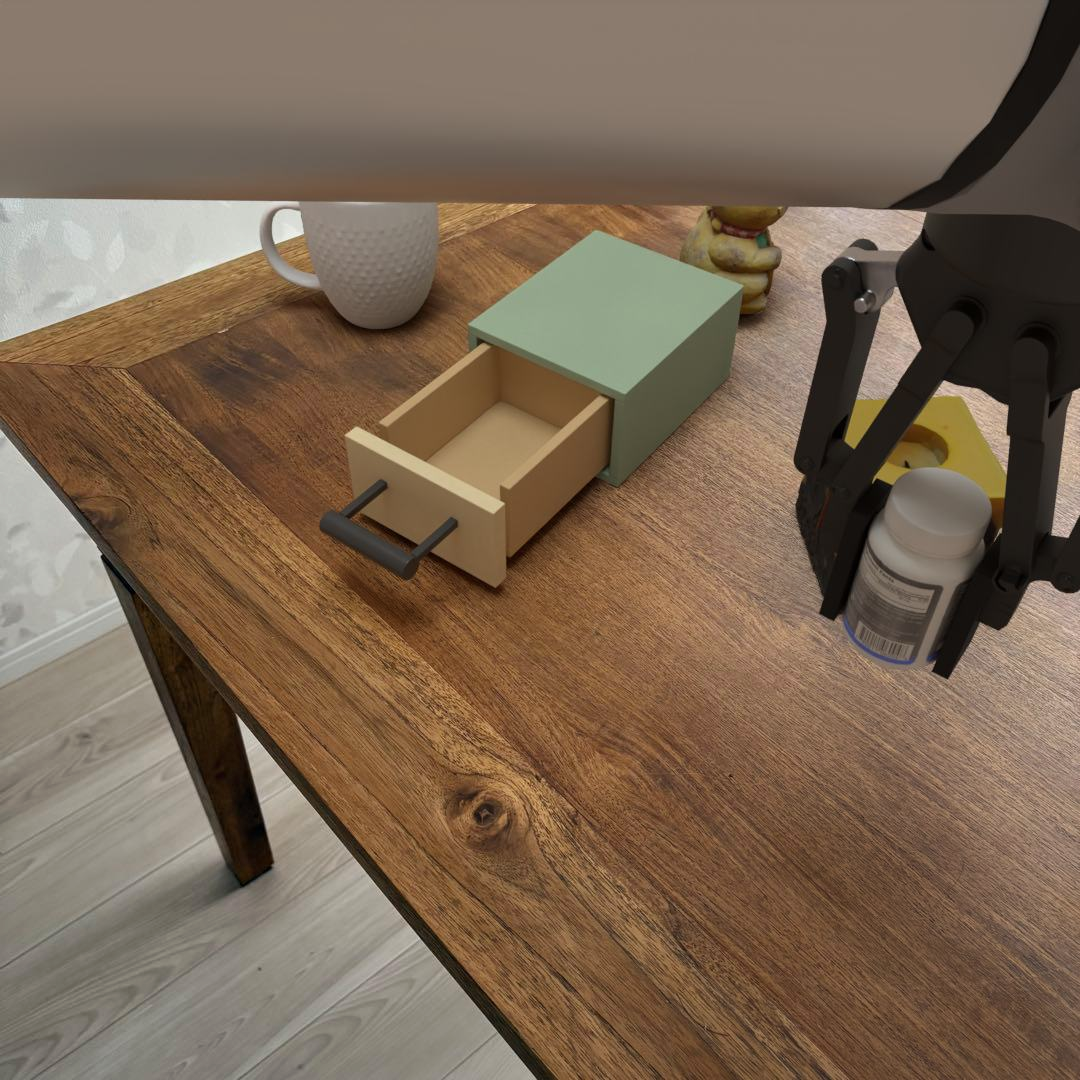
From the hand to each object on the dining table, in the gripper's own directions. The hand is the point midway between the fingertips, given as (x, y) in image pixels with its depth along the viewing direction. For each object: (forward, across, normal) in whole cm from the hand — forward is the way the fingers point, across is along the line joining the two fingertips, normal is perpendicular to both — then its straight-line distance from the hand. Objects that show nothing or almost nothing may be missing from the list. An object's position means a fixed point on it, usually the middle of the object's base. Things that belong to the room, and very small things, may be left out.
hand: (894, 627), depth 51 cm
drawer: (+15, +31, -6) cm, 35 cm away
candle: (+16, +6, -20) cm, 27 cm away
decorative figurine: (+16, +31, -41) cm, 54 cm away
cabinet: (+16, +31, -24) cm, 42 cm away
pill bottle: (+1, 0, 0) cm, 1 cm away
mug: (+17, +54, -21) cm, 61 cm away
